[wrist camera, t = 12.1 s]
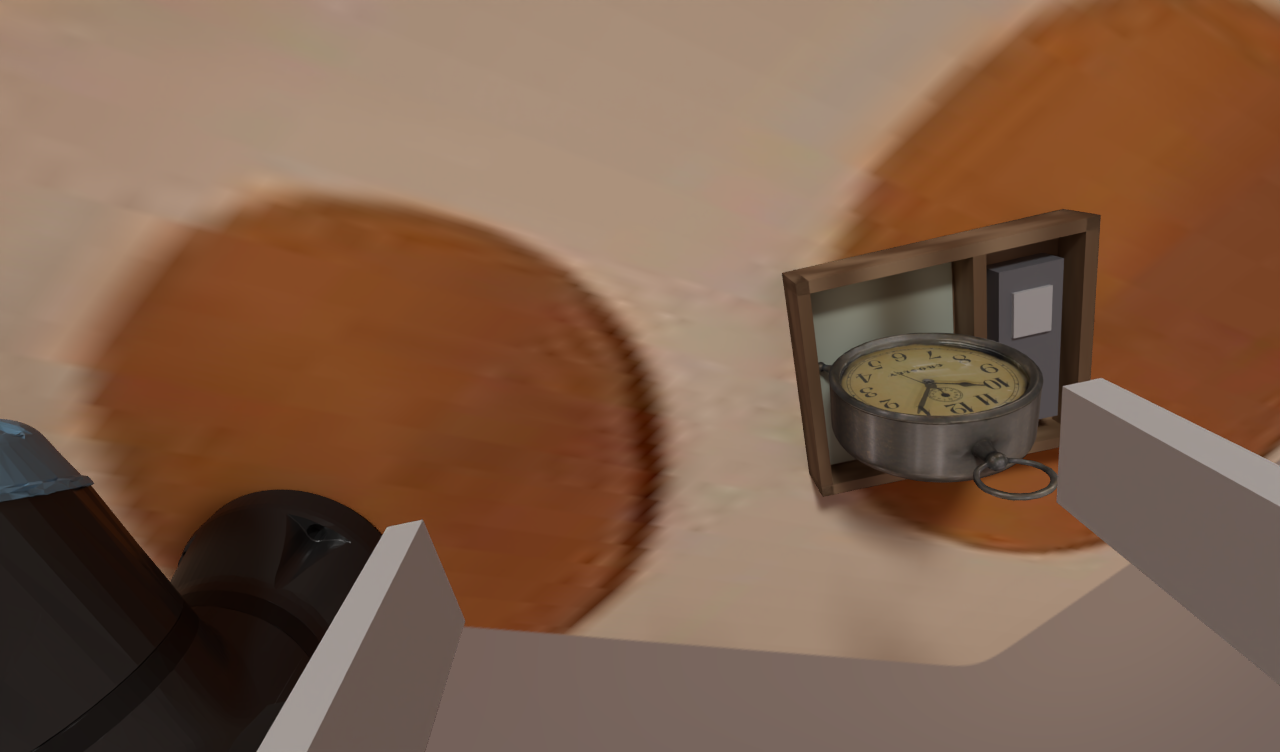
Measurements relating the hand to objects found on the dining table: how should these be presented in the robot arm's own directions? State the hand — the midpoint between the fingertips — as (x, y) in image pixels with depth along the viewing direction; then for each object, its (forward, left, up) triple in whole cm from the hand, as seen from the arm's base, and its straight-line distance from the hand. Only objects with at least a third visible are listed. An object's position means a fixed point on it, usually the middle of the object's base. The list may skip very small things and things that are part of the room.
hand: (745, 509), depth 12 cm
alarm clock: (+14, -11, -28) cm, 33 cm away
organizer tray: (+17, -11, -29) cm, 35 cm away
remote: (+22, -11, -28) cm, 37 cm away
